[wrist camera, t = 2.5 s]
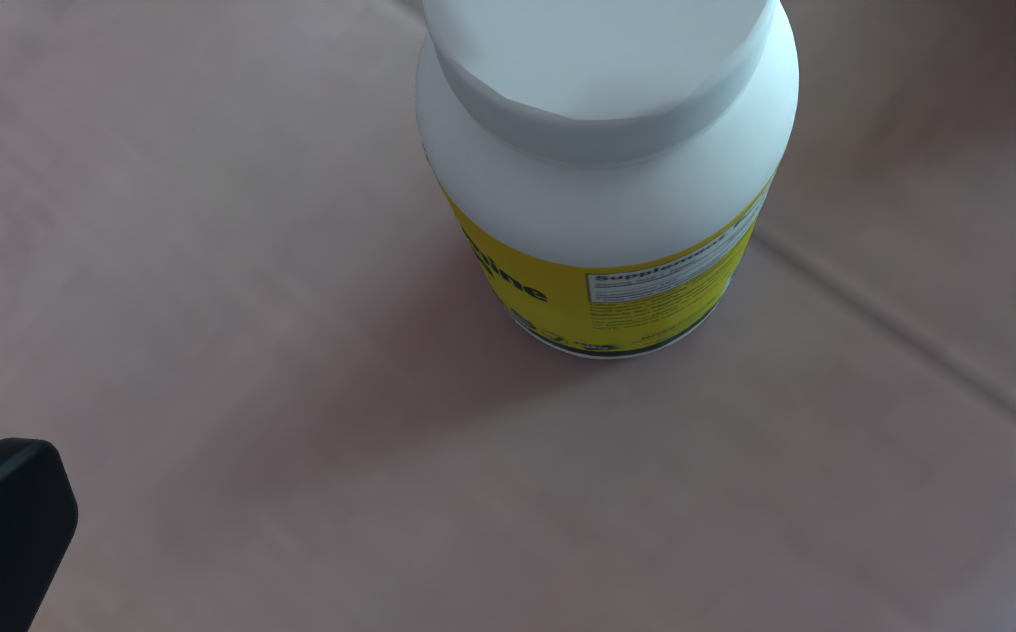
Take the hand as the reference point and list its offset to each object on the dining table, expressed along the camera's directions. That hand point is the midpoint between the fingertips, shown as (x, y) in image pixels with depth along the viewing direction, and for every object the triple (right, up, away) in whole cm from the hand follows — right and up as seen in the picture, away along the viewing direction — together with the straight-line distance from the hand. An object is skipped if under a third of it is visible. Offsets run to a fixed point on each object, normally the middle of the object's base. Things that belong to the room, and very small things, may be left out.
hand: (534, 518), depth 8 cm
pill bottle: (+2, +3, +14) cm, 15 cm away
